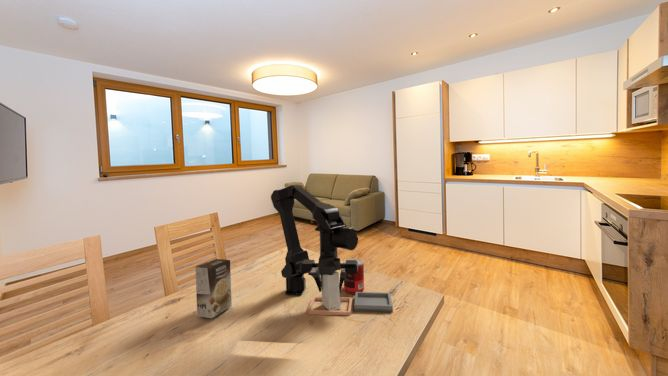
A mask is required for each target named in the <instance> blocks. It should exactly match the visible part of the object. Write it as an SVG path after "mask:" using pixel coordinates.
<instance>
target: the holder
mask: <svg viewBox="0 0 668 376" xmlns="http://www.w3.org/2000/svg"><path fill="white" fill-rule="evenodd" d="M316 301H322V296H313V297H312V299H311V301H310V303H309V305H308V308H307V310H306V313H307V314H309V315H322V316H323V315H326V316H328V315H329V316H349V315H350V316H351V315H352V306H353V297H350V296H348V297H347V296H340V302H349V303H348V308H347V309H348V310H328V309H327V310H326V309H324V310H322V309H313V306H314V304H315V302H316Z"/></svg>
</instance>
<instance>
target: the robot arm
mask: <svg viewBox="0 0 668 376" xmlns="http://www.w3.org/2000/svg"><path fill="white" fill-rule="evenodd" d="M270 200H271V203H272V206H273V208H274V209H275V210H276V211H277V213H279V217H280V220H281V221H280V223H281V227H282V232H283V235H284V240H285V244H286V248H287V252H286V255H285V261H284V262H285V265H284V266H283V268H282V269H281V271H280V272H281V276H282V278H284V279H285V288H286V290H285V292H284V294H285V295H302V294H303V293H304V292H305V290H306V288H307V287H306V277H305V275H306V274H307V275H308V276H311V277H312V279H314V281H315V284H316V286H317V289H318V292H319V293H322V289H321V275H333V274H334V271H337V272H338V271H340V273H339V291H340V293H341V291H342V288H343V285H344V279H345V277H346V276H349V274H356V273H357V272H358V262H357V261H356V260H347V259H345V260H346V263H343V262H342V261H341V258H339V257H338V254H339V252H338V249H343V250H347V251H354V250H355V249H356V248H357V246H358V244H359V243H358V242H359V237H358V235H357V232H356V231H354V227H353V226H352V227H351V226H349V227H347V224H346V222H345V221H344V219H343V217H342V215H341V214H340V210H339V209H338V208H337V207H336V206H334V205H331V204H330V203H325V202H323V201H320V199H318V198H316V197H315V196H314V195H313V194H311V193H310V192H309V191H307V190H306V189H305V188H304V187H303V186H302V185H301V184H291V185H289V186H287V187H284V188H282V189H274V190H273V191H272V193H271V195H270ZM295 200H296V201H297V202H298V203H300V204H301V205H302V206H303V207H305V208H306V210H308V211H310V212H311V215H312V219H314V221H315V222H316V223H317V227H316V228H314V231H315V232H319V257H318V262H316V261H315V259H310V258H309V252H308V251H307V250H304V249H303V248H302V247H301V243H300V239H299V234H298V231H297V230H298V229H297V225H296V220H295V217H294V213H293V210H294V206H295Z"/></svg>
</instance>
